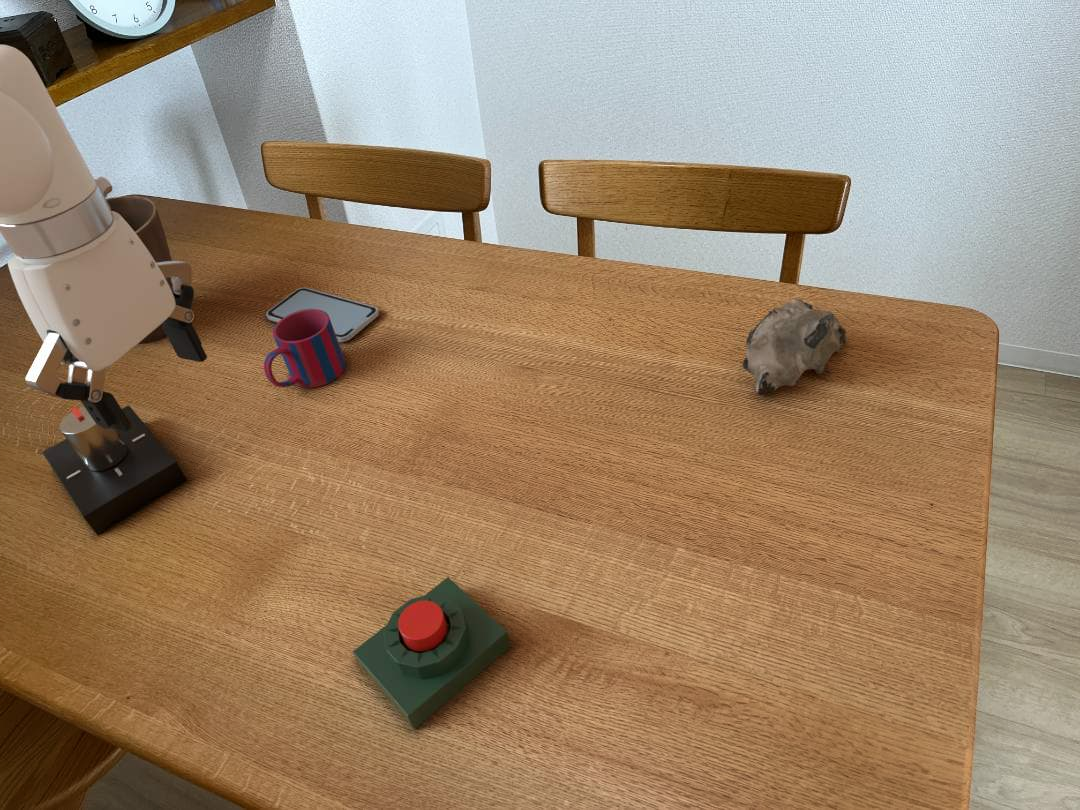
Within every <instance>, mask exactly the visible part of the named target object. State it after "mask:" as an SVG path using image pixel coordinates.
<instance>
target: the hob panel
mask: <svg viewBox="0 0 1080 810" xmlns="http://www.w3.org/2000/svg"><path fill="white" fill-rule="evenodd" d="M121 409H122V410H123V412H124V413H125V415H126V417H127V418H128V420H129V421H130V423H131V429H129V430H128V431H127V432H123V431H119V430H117V431H118V433H119V434H120V436H121V437H122V439H123V440H124V442H125V443H126V445H127V447H128V451H127V454H126V456H125V457H124V458H123V459H122V460H121V461H120V462H119V463H118V464H116V465H114V466H113V467H111V468H108V469H105V470H101V471H93V470H90V469H88V468H87V467H86V465H85V464H84V462H83V461H82V460H81V458H80V457H79V456H78V454H77V453H76V451H75V450H74V449H73V447H72V446H71V444H70V443H69V442H68V440H67V439H66V438H65V439H63V440H61V441H60V442H58V443H55V444H54V445H52V446H50V447H48V448H46V449H45V450H43V451H41V453H42V455H43V456H44V458H45V460H46V461H47V462H48V464H49V466H50V467H51V469H52V470H53V472H54V474H55V475H56V477H57V478H58V480H59V481H60V483H61V485H62V486H63V488H64V489H65V491H66V493H67V494H68V496H69V497H70V499H71V501H73V503H74V505H75V507H76V508H77V510H78V512H79V513H80V515H81V516H82V518H83V519H84V520H85V521H86V523H87V524H88V525H89V527H90V528H91V529H92V530H93V532H94V533H95V534H96V536H99V535H101V534H102V533H104V532H106V531H108V530H109V529H111V528H113V527H114V526H115V525H117V524H119V523H120V522H122V521H124V520H125V519H127V518H129V517H131V516H132V515H134V514H135V513H137V512H139V511H140V510H142V509H144V508H146V507H147V506H149V505H150V504H152V503H154V502H155V501H157V500H159V499H161V498H162V497H163V496H166V495H167V494H169V493H170V492H172V491H173V490H175V489H177V488H178V487H180V486H182V485H184V484H186V483H187V482H188V478H187V477H186V475H185V474H184V472H183V470H182V468H181V467H180V466H179V464H178V462H177V461H176V460H175V458H174V457H173V456H172V455H171V453H170V452H169V450H167V449H166V447H165V446H164V445H163V444H162V443H161V442H160V440H159V439H158V438H157V437H156V436H155V435H154V433H153V432H152V431H151V429H149V428H148V426H147V425H146V424H145V423H144V421H143V420H142V419H141V418H140V416H138V414H137V413H136V412H135V410H133V409H132V407H131V406H130V405H129V404H128V405H126V406H124V407H121Z"/></svg>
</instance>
